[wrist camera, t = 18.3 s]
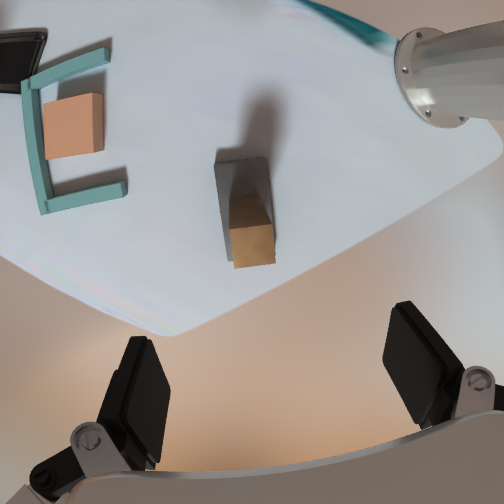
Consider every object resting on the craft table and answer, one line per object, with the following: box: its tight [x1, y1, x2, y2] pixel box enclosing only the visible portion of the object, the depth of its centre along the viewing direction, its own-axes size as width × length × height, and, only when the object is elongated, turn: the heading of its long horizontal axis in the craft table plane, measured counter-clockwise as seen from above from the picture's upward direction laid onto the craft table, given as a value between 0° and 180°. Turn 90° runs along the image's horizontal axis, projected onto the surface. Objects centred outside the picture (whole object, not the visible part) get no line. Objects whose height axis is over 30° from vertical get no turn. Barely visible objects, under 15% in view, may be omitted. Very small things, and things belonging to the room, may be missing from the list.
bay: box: [21, 47, 128, 215], centre depth 26 cm, size 11×16×2 cm
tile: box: [44, 93, 104, 160], centre depth 25 cm, size 6×6×3 cm
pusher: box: [214, 157, 276, 268], centre depth 26 cm, size 10×5×11 cm, turn 6°
